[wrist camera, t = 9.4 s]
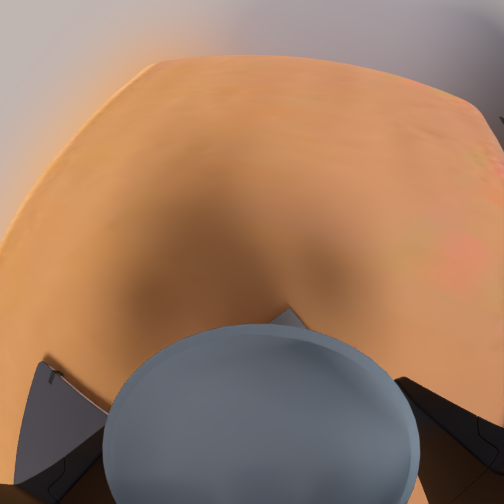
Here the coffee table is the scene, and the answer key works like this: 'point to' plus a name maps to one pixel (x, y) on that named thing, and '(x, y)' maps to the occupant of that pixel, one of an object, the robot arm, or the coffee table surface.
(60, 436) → the notebook
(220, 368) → the vase
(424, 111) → the coffee table surface
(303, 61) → the coffee table surface
